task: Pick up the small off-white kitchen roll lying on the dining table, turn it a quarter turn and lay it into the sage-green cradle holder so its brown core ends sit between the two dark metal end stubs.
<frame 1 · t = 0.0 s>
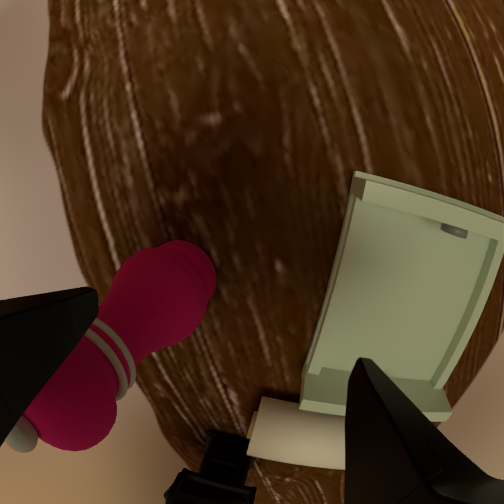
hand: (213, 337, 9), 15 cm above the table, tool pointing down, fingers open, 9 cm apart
roll cradle: (406, 299, 22), on the table
pepper mill: (183, 273, 26), on the table
kitchen roll: (313, 436, 25), point 3 cm above the table
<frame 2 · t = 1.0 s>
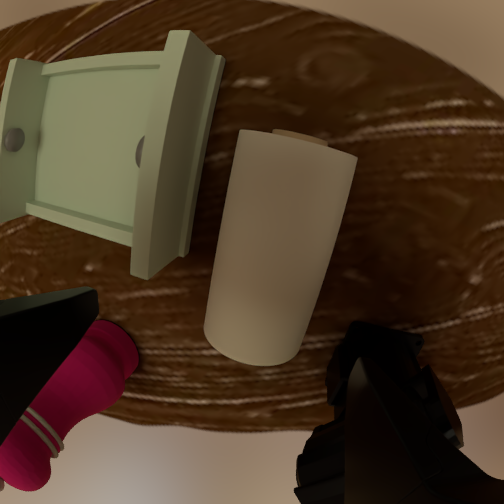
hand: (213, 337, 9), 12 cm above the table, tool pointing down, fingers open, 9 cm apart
roll cradle: (101, 142, 20), on the table
pepper mill: (114, 345, 26), on the table
kitchen roll: (274, 247, 17), point 3 cm above the table
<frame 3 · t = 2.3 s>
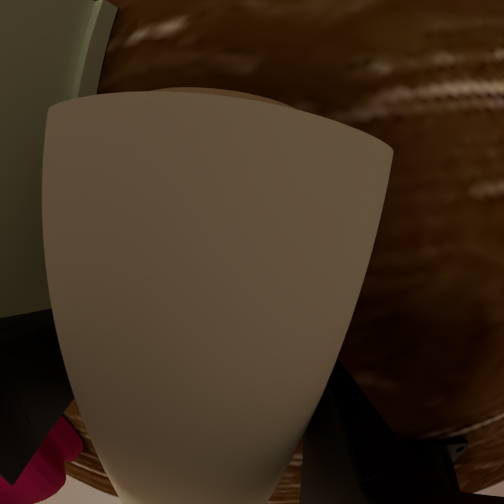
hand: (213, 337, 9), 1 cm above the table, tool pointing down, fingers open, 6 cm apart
pepper mill: (55, 421, 17), on the table
kitchen roll: (193, 373, 7), point 3 cm above the table
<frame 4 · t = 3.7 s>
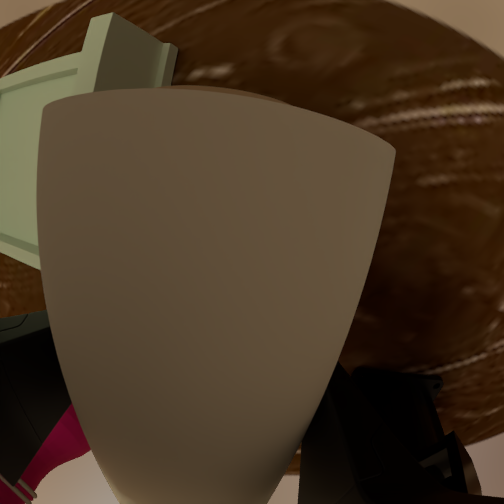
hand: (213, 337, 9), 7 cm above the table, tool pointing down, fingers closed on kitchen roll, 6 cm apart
roll cradle: (50, 163, 16), on the table
pepper mill: (90, 385, 22), on the table
kitchen roll: (191, 376, 7), point 9 cm above the table, touching gripper
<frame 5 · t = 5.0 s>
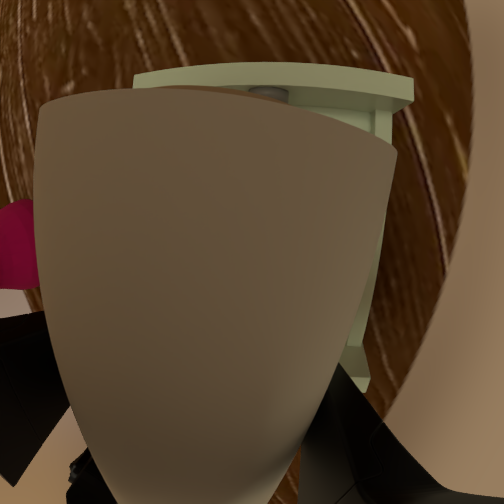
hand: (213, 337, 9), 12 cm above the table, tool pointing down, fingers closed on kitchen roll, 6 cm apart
roll cradle: (271, 220, 19), on the table
pepper mill: (61, 231, 23), on the table
kitchen roll: (190, 378, 7), point 14 cm above the table, touching gripper
when the fingers open (4 cm above the table, at t = 7.4 s): kitchen roll drops 1 cm, resting on roll cradle.
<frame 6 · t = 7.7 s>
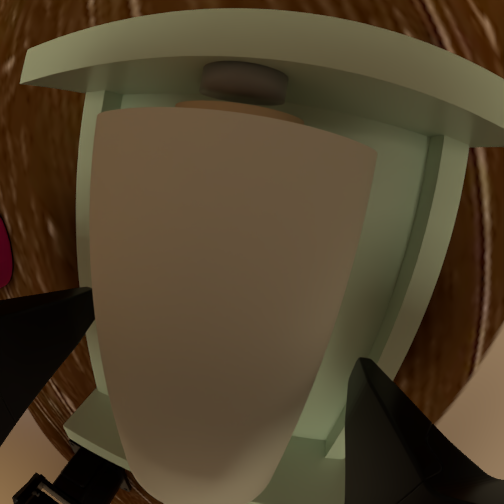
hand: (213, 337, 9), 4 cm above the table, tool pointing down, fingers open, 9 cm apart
roll cradle: (241, 289, 12), on the table
kitchen roll: (209, 346, 8), point 4 cm above the table, touching roll cradle
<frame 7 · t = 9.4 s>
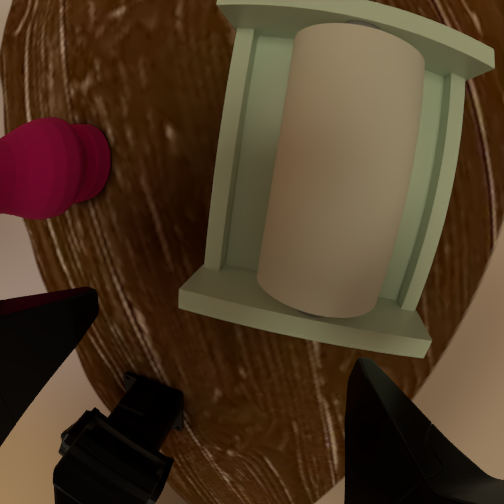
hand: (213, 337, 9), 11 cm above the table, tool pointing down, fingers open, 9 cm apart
roll cradle: (337, 165, 17), on the table
pepper mill: (85, 162, 21), on the table
kitchen roll: (343, 167, 13), point 4 cm above the table, touching roll cradle
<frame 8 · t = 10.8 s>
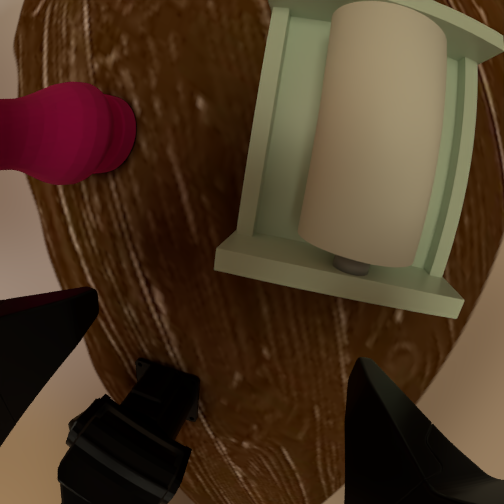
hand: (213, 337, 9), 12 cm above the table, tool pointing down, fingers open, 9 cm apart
roll cradle: (365, 137, 17), on the table
pepper mill: (107, 134, 20), on the table
kitchen roll: (379, 130, 13), point 4 cm above the table, touching roll cradle
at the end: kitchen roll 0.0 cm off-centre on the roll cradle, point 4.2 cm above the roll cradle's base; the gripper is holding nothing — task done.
